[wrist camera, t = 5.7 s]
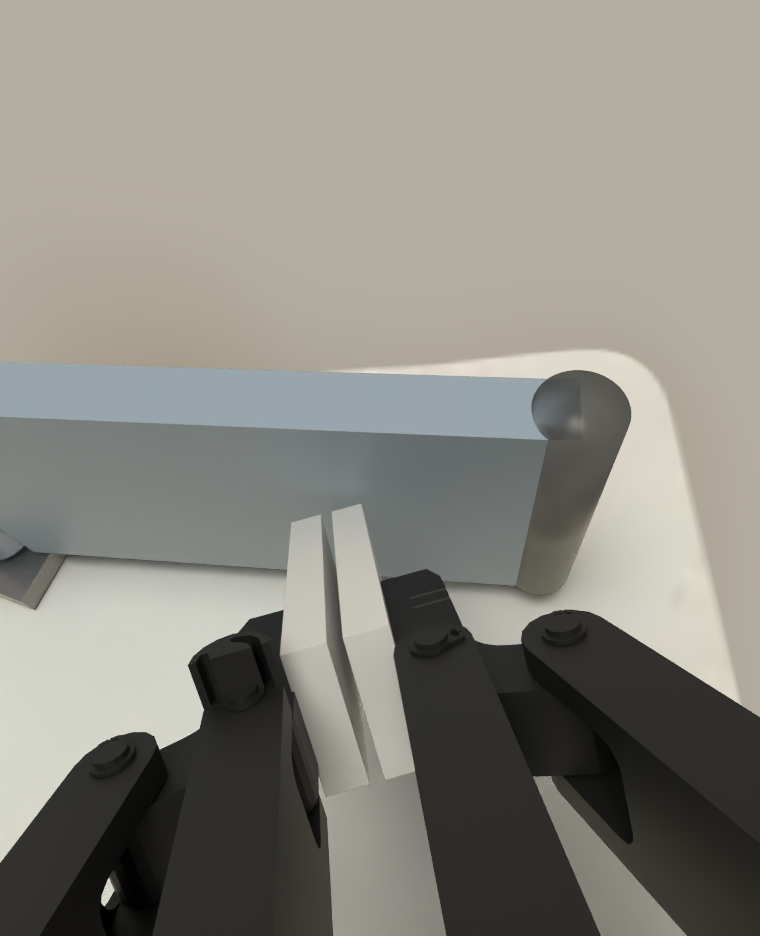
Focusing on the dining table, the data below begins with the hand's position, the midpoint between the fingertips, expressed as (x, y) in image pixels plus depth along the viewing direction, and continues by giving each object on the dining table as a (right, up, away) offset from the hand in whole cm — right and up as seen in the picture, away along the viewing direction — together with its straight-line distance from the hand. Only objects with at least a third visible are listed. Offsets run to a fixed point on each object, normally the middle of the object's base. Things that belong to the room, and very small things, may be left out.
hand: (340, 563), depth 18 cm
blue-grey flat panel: (-3, 0, +6) cm, 7 cm away
